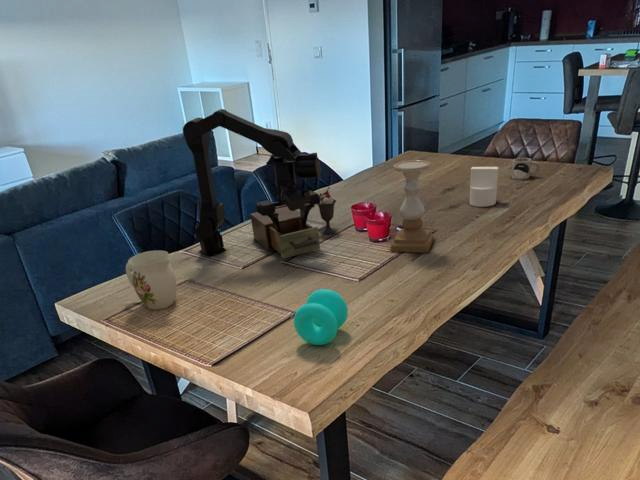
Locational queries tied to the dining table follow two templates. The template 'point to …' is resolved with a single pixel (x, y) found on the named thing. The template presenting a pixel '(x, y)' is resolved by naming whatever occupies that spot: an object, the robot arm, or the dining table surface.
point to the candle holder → (412, 211)
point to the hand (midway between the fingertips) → (291, 230)
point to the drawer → (294, 238)
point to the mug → (523, 168)
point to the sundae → (327, 210)
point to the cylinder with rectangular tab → (483, 186)
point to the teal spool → (321, 317)
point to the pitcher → (153, 278)
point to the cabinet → (270, 224)
